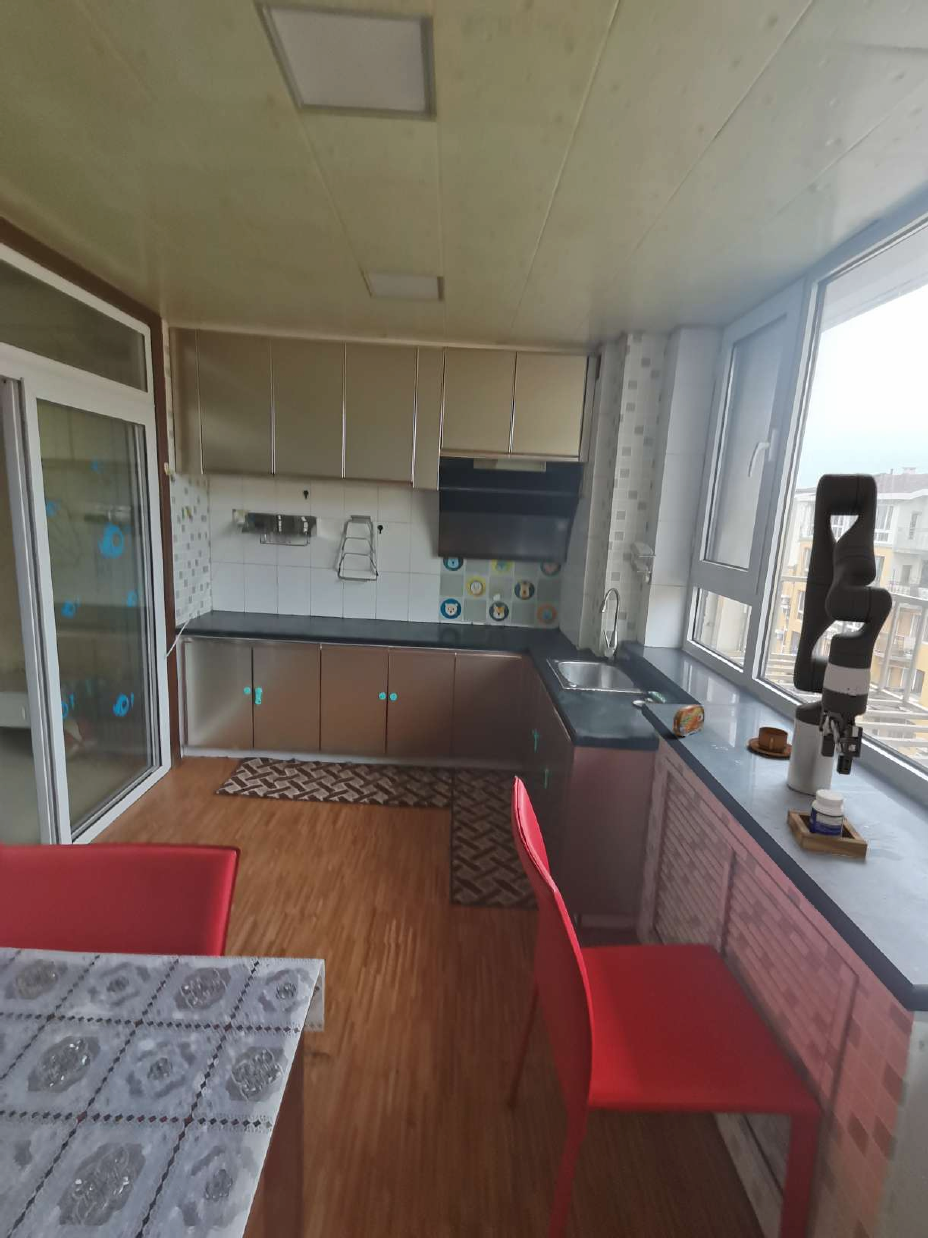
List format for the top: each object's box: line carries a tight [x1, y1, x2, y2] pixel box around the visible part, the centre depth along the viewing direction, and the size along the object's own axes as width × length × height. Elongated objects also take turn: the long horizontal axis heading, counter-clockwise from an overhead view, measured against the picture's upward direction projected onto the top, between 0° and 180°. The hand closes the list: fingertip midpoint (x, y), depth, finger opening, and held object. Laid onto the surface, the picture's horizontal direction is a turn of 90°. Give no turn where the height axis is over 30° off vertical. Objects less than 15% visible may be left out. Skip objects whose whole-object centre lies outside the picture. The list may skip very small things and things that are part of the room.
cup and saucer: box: [748, 726, 792, 758], centre depth 168 cm, size 12×12×6 cm
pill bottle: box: [808, 789, 845, 837], centre depth 120 cm, size 6×6×10 cm
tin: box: [673, 704, 705, 737], centre depth 181 cm, size 15×3×8 cm, turn 131°
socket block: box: [786, 809, 869, 860], centre depth 121 cm, size 11×11×3 cm
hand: (834, 764), depth 118 cm, fingers open, 8 cm apart
